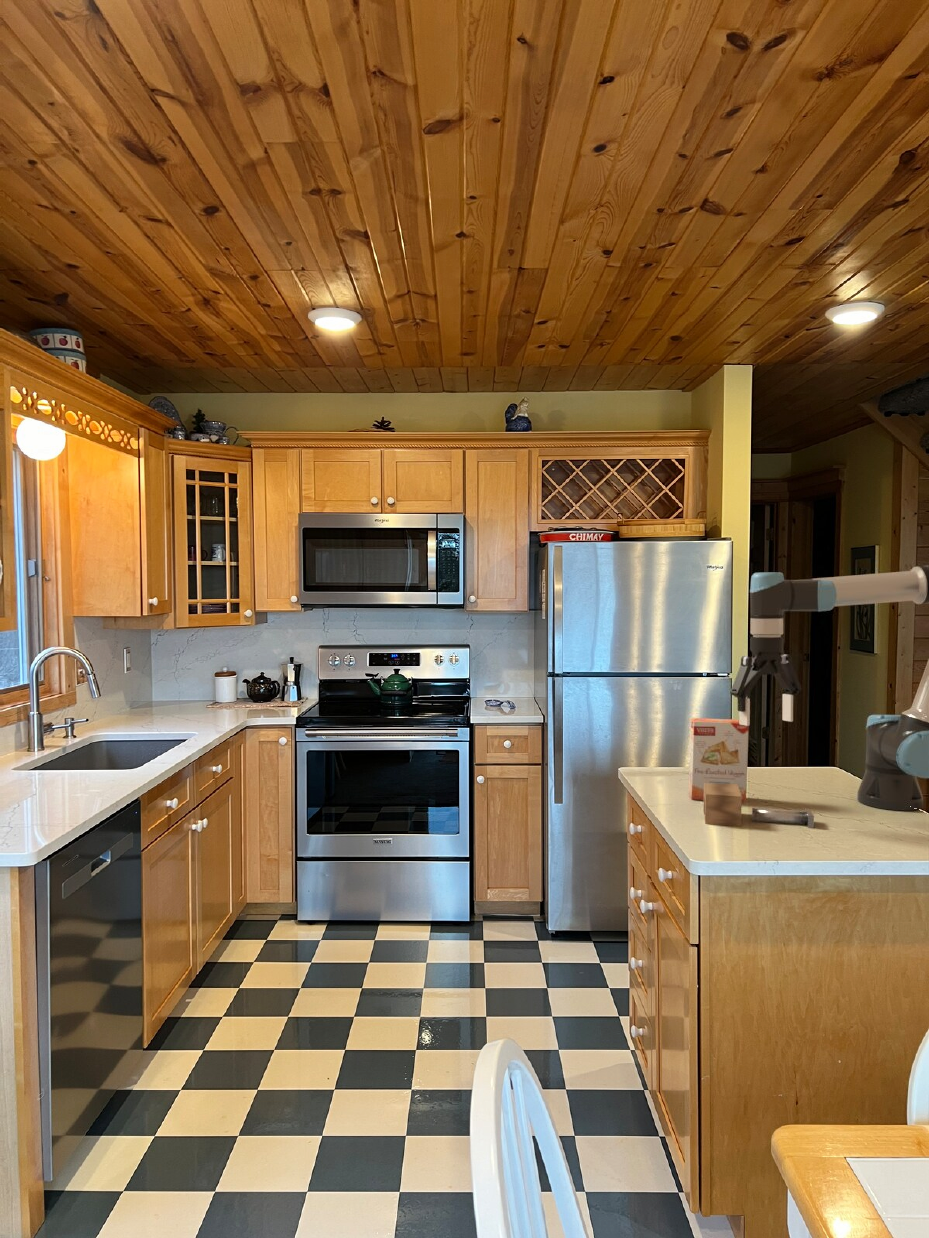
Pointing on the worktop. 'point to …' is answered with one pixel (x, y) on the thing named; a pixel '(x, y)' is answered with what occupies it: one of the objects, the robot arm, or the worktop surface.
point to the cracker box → (717, 755)
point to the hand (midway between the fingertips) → (766, 723)
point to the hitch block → (722, 804)
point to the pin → (784, 816)
